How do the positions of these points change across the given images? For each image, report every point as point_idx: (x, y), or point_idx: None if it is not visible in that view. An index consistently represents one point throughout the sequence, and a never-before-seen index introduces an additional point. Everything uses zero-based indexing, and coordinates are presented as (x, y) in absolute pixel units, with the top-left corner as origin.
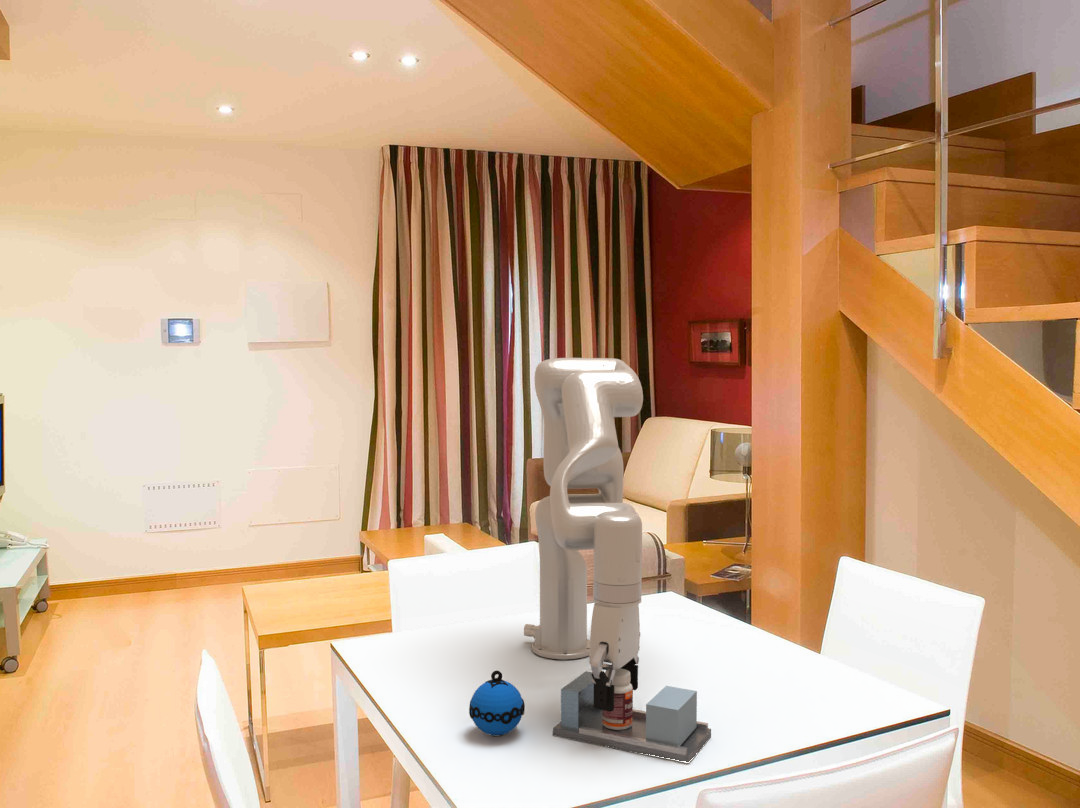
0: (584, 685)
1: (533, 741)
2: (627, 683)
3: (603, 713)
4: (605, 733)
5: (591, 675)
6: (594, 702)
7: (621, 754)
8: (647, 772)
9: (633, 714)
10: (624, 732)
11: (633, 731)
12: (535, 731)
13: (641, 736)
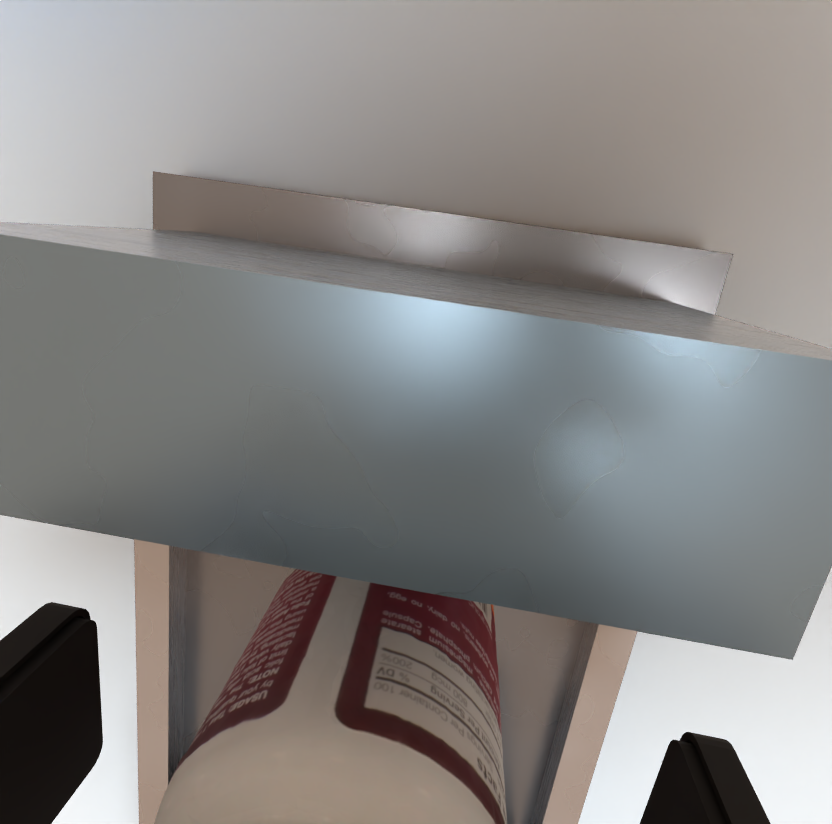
0: (208, 513)
1: (33, 72)
2: None
3: (300, 571)
4: (137, 587)
5: (687, 513)
6: (12, 639)
7: (132, 632)
8: None
9: (576, 672)
10: None
11: None
12: (196, 9)
13: None
